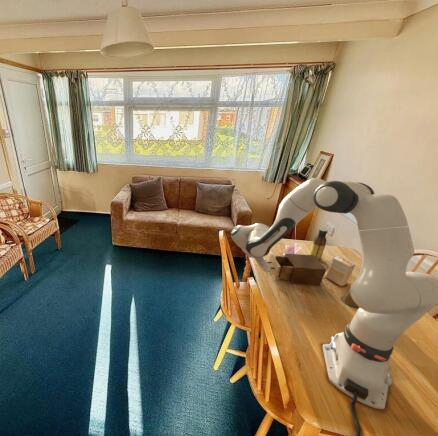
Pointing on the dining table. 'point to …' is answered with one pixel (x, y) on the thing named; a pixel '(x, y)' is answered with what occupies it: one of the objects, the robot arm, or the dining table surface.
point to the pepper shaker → (349, 299)
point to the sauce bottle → (319, 244)
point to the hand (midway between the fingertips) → (268, 265)
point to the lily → (291, 249)
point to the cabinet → (306, 269)
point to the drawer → (280, 267)
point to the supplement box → (340, 270)
